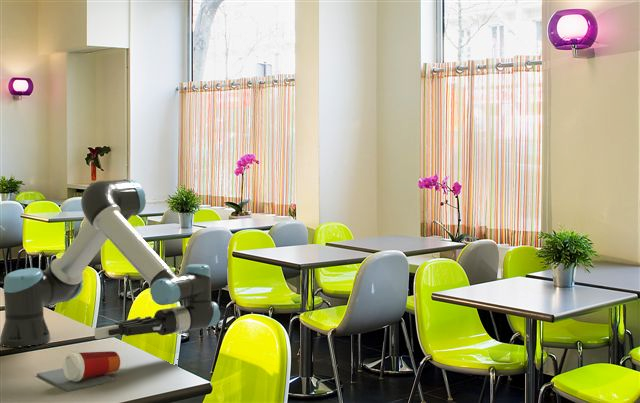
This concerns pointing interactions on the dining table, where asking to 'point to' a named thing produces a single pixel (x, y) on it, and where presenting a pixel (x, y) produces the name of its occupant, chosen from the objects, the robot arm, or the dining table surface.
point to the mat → (63, 382)
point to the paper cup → (90, 364)
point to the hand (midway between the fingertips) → (96, 333)
